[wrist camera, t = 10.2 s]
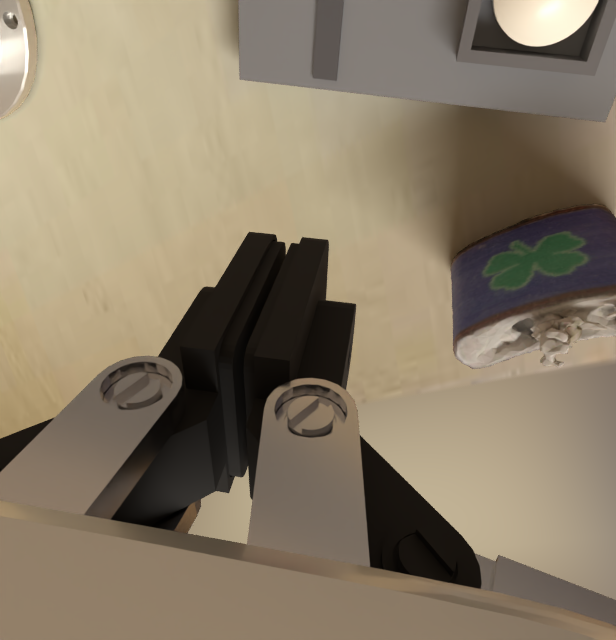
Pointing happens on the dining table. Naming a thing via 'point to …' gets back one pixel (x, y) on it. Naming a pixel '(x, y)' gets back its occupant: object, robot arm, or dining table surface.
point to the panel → (429, 54)
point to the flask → (536, 287)
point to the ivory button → (541, 19)
